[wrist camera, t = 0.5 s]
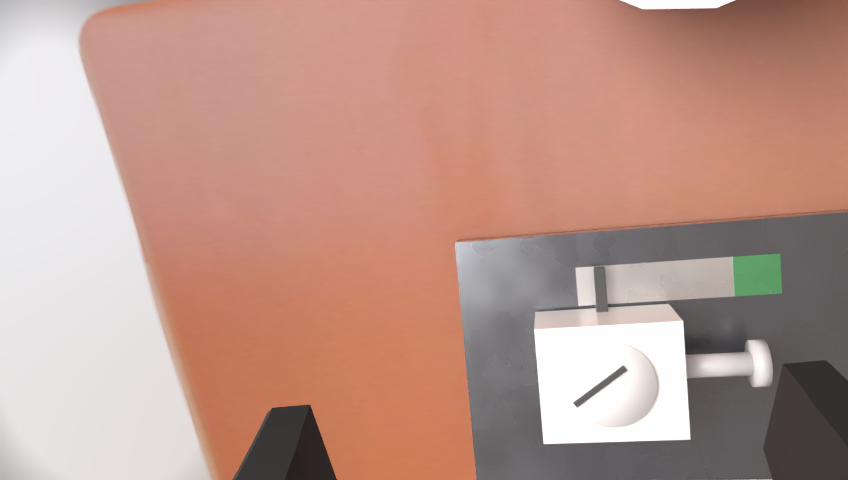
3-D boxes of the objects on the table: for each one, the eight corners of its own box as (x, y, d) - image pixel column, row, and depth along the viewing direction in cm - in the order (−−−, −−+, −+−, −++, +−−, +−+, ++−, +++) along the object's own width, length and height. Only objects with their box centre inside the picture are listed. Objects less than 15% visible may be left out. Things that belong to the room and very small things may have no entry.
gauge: (758, 407, 33) (786, 439, 29) (543, 415, 35) (543, 447, 31) (750, 254, 32) (777, 267, 29) (531, 269, 34) (530, 283, 30)
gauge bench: (987, 464, 33) (1064, 518, 28) (479, 476, 37) (469, 525, 32) (981, 198, 32) (1061, 207, 27) (457, 240, 36) (443, 253, 31)
